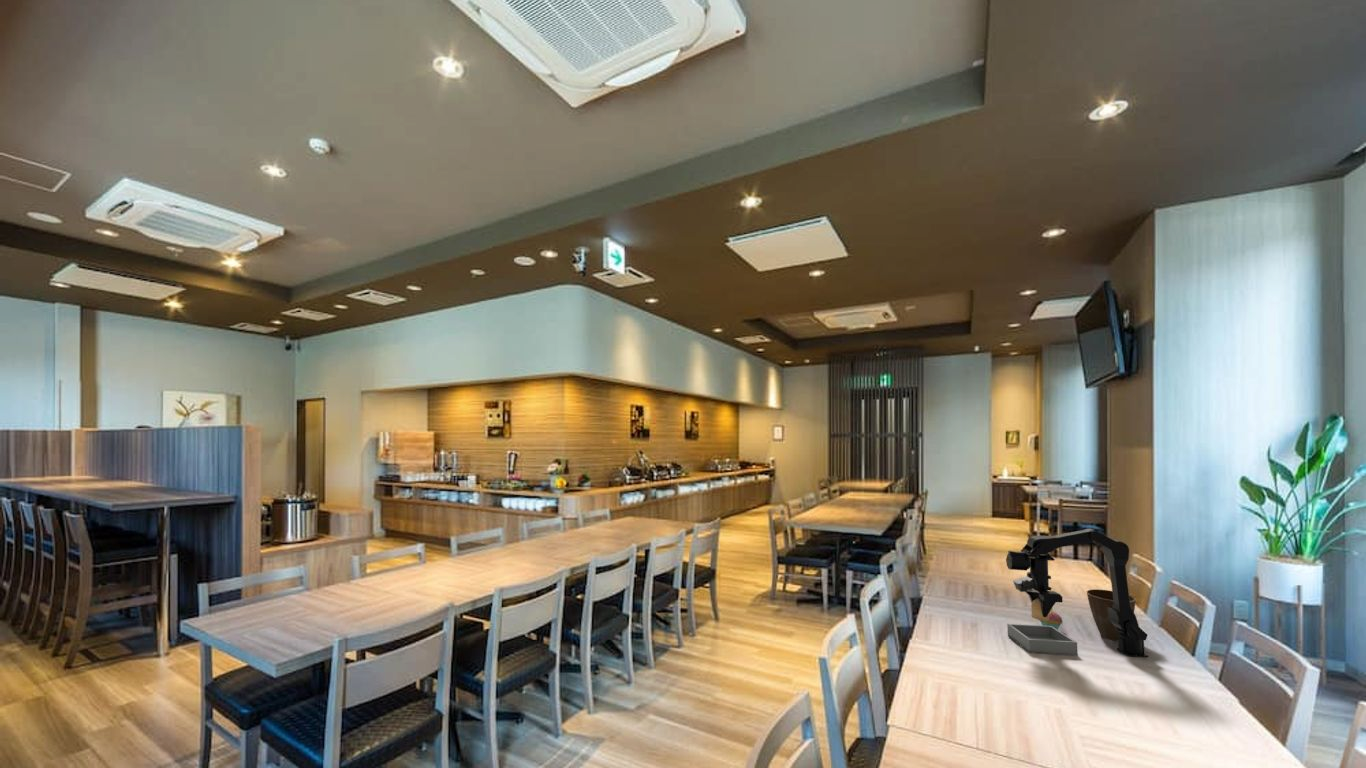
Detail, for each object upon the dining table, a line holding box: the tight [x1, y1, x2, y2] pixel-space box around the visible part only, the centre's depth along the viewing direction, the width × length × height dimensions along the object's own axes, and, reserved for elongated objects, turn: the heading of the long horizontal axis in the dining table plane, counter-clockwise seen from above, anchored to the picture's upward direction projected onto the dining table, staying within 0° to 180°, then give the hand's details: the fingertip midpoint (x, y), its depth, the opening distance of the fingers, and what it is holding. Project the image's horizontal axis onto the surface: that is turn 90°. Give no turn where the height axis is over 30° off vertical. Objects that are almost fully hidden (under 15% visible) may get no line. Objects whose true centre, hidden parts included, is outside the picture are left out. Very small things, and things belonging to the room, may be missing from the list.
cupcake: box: [1037, 608, 1063, 630], centre depth 215 cm, size 9×8×12 cm
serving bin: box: [1006, 623, 1079, 656], centre depth 199 cm, size 16×16×4 cm
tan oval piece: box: [1030, 599, 1049, 621], centre depth 200 cm, size 5×5×7 cm
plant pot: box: [1086, 588, 1137, 642], centre depth 208 cm, size 15×15×16 cm
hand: (1040, 614), depth 200 cm, fingers closed on tan oval piece, 5 cm apart
